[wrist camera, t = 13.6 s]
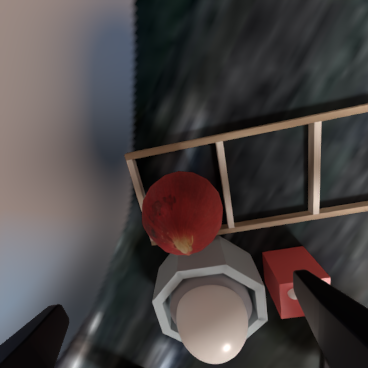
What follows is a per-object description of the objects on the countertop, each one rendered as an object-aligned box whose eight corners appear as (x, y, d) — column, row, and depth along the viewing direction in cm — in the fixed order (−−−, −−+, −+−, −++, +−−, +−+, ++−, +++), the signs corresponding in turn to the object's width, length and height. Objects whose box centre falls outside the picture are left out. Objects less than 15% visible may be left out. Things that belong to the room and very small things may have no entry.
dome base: (303, 296, 22) (331, 341, 17) (172, 313, 23) (169, 358, 19) (302, 221, 18) (336, 253, 14) (152, 245, 20) (142, 281, 15)
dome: (247, 308, 20) (270, 382, 15) (180, 317, 21) (177, 391, 15) (240, 252, 18) (263, 315, 12) (164, 263, 19) (154, 328, 13)
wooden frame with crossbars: (399, 200, 18) (409, 204, 17) (153, 240, 20) (152, 245, 19) (418, 93, 15) (430, 91, 14) (127, 153, 17) (124, 154, 16)
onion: (152, 218, 19) (127, 288, 11) (151, 160, 17) (120, 196, 9) (212, 221, 19) (229, 293, 11) (218, 163, 17) (243, 201, 9)
